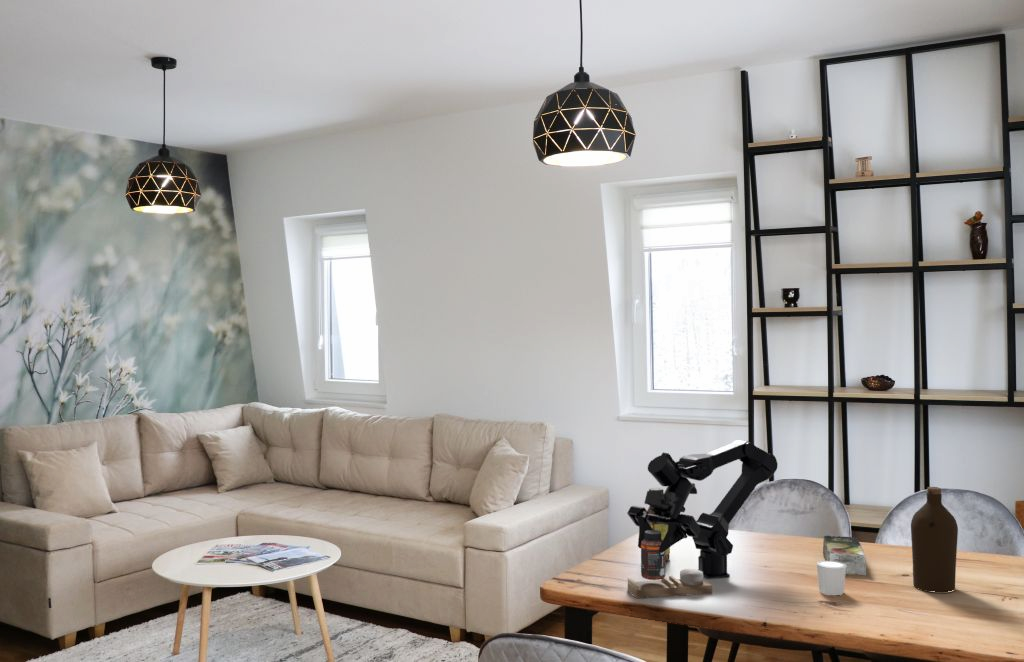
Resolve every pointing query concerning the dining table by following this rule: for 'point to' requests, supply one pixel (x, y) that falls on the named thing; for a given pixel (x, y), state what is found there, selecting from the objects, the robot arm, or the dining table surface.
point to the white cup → (831, 577)
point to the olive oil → (934, 545)
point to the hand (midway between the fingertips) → (649, 549)
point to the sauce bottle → (659, 526)
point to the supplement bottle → (652, 556)
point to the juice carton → (845, 553)
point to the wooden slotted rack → (671, 585)
